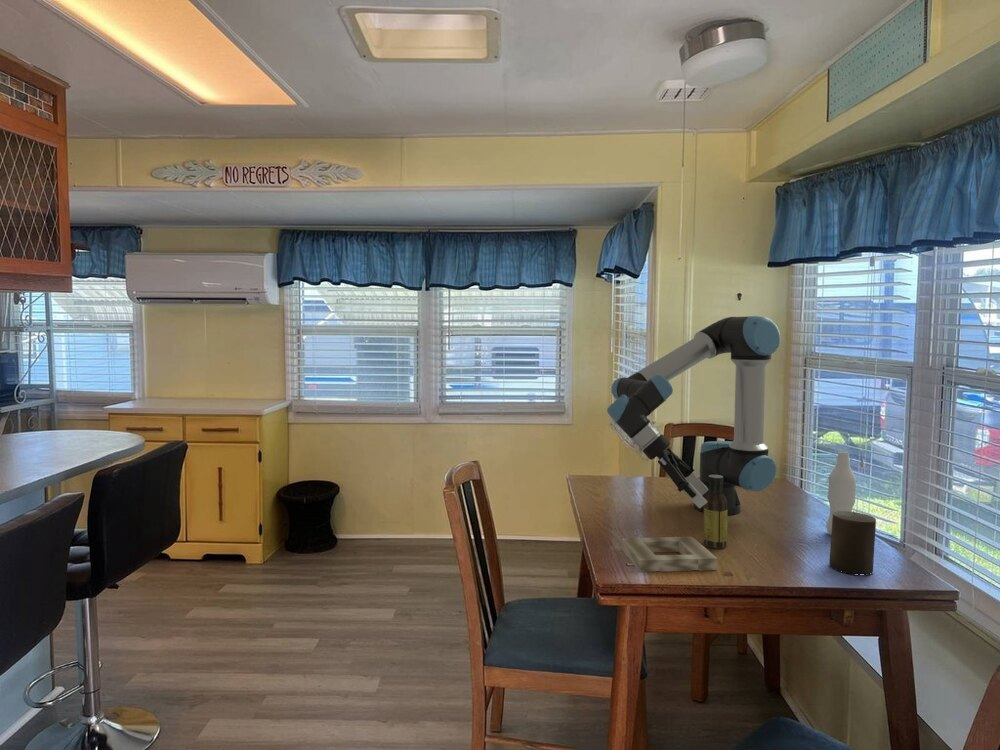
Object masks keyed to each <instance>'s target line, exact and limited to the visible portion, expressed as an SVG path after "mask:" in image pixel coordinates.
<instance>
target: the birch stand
mask: <svg viewBox="0 0 1000 750" xmlns="http://www.w3.org/2000/svg"><path fill="white" fill-rule="evenodd" d="M621 550H622V552H623V553H624V554H625V556H627V558H628V559H629V560H630V562H631V563H632V564H633V565H634V566H636V567H635V568H636V569H637V570H638V572H640V573H649V572H650V573H652V572H654V573H655V572H656V571H660V572H686V571H687V572H692V571H691V570H699V571H718V557H717V556H715V555H714V554H713V553H712V552H710V550H709V549H707V548H706V547H705V546H704V545H702V544H701V543H700V542H699V541H698V540H697V539H695V538H694V537H693V536H674V537H673V536H669V537H667V536H665V537H663V536H662V537H660V536H659V537H622V538H621ZM670 552H671V553H672V552H673V553H674V552H677V553H679V554H661V555H660V554H655V553H670Z"/></svg>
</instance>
